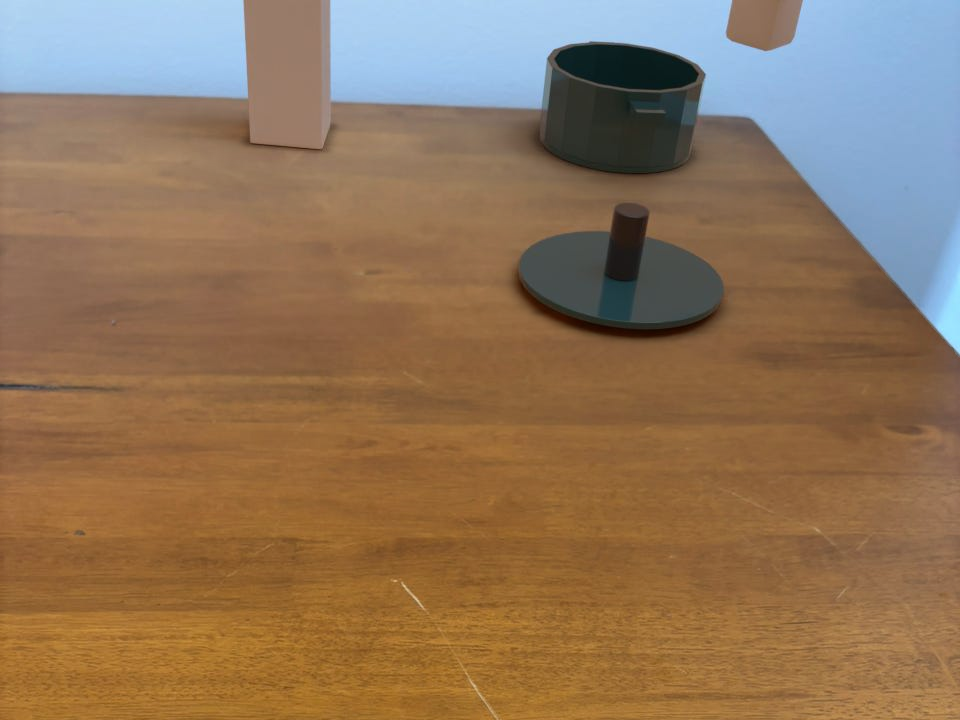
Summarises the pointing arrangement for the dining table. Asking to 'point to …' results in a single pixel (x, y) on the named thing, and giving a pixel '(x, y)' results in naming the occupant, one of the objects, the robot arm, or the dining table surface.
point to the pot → (620, 106)
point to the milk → (288, 71)
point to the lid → (621, 276)
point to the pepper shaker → (763, 22)
